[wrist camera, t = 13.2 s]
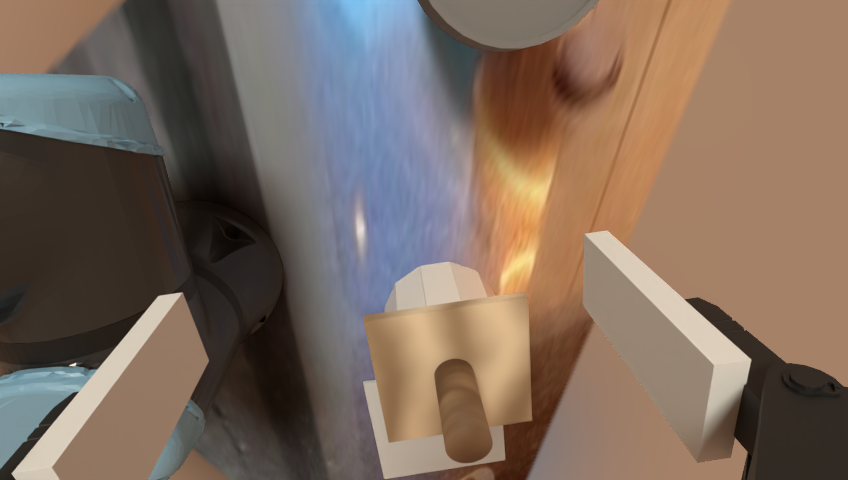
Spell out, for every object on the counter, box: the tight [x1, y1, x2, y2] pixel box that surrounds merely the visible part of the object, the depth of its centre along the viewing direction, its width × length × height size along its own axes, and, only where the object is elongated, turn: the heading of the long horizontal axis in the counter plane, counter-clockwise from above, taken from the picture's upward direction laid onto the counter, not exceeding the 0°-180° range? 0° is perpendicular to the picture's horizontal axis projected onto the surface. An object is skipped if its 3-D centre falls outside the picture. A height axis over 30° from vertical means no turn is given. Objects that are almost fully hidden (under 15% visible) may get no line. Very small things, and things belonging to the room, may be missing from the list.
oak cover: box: [364, 292, 532, 463], centre depth 40 cm, size 14×14×9 cm
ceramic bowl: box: [385, 262, 495, 312], centre depth 48 cm, size 12×12×10 cm
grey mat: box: [363, 380, 505, 479], centre depth 59 cm, size 16×16×1 cm
